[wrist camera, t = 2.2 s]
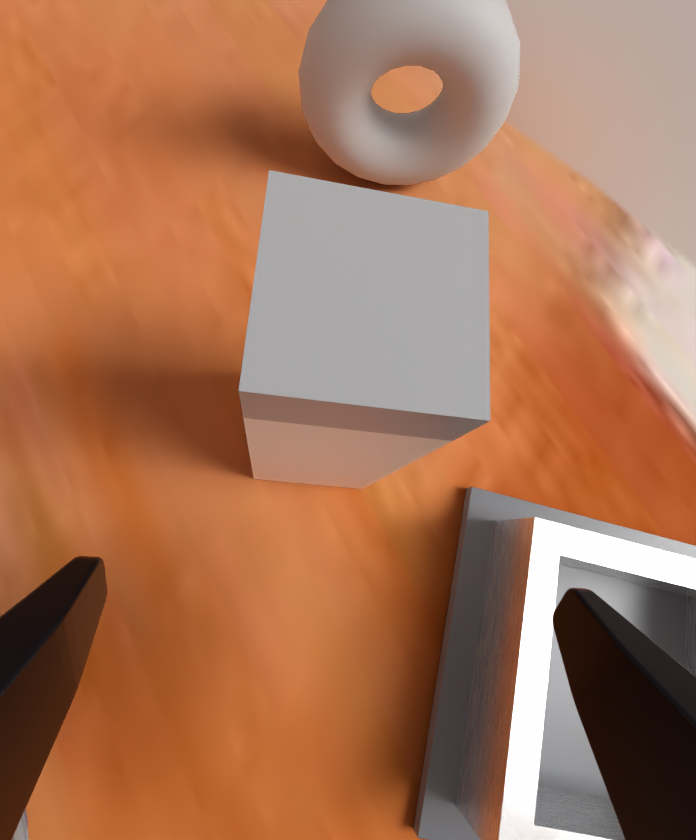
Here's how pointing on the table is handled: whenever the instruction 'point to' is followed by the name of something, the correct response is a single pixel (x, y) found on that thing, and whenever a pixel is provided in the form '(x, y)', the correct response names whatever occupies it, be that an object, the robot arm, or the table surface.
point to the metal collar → (540, 676)
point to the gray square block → (362, 332)
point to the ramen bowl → (22, 829)
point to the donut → (413, 46)
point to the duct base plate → (562, 730)
